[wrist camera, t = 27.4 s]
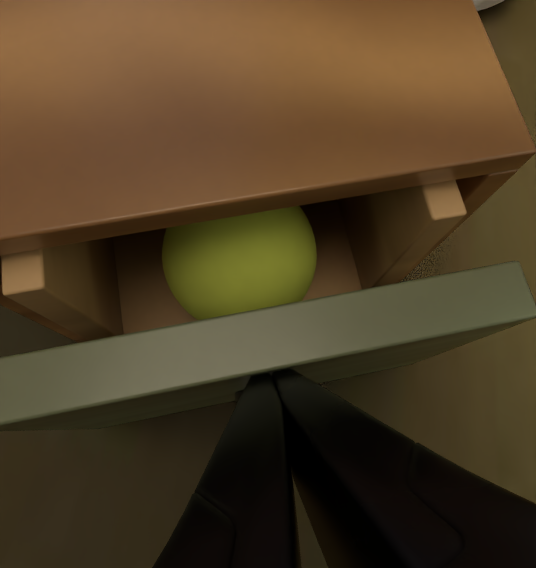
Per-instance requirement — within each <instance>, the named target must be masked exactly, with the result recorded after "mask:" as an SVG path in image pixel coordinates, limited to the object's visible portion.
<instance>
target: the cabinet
mask: <svg viewBox="0 0 536 568" xmlns="http://www.w3.org/2000/svg"><path fill="white" fill-rule="evenodd" d="M535 153H536V147H535V145H534V142H533V140H532V138H531V135H530V133H529V131H528V128H527V126H526V124H525V121H524V119H523V117H522V114H521V112H520V110H519V108H518V105H517V103H516V101H515V98H514V96H513V94H512V91H511V89H510V87H509V84H508V82H507V80H506V77H505V75H504V73H503V70H502V68H501V66H500V63H499V61H498V59H497V56H496V54H495V52H494V49H493V47H492V45H491V42H490V40H489V38H488V35H487V33H486V31H485V28H484V26H483V24H482V21H481V19H480V17H479V14H478V12H477V10H476V7H475V5H474V3H473V0H0V305H2V306H4V307H6V308H8V309H10V310H12V311H14V312H16V313H18V314H20V315H22V316H25V317H27V318H29V319H31V320H33V321H35V322H37V323H39V324H41V325H43V326H45V327H47V328H49V329H51V330H53V331H55V332H58V333H60V334H62V335H64V336H66V337H68V338H70V339H72V340H75V341H76V342H78V343H80V342H85V341H89V340H87V339H85V338H83V337H81V336H79V335H78V334H76V333H74V332H72V331H70V330H68V329H66V328H64V327H62V326H61V325H59V324H57V323H55V322H53V321H51V320H49V319H47V318H46V317H44V316H42V315H40V314H38V313H36V312H34V311H32V310H30V309H29V308H27V307H25V306H23V305H21V304H19V303H17V302H15V301H13V300H12V299H10V298H8V297H6V296H4V295H3V293H2V267H1V255H7V254H13V253H19V252H25V251H31V250H37V249H43V248H49V247H55V246H61V245H67V244H73V243H79V242H85V241H91V240H97V239H103V238H109V237H115V236H121V235H127V234H133V233H139V232H145V231H151V230H157V229H163V228H169V227H175V226H181V225H187V224H193V223H198V222H205V221H210V220H216V219H222V218H228V217H234V216H240V215H246V214H252V213H258V212H264V211H270V210H276V209H282V208H288V207H294V206H300V205H306V204H312V203H318V202H324V201H330V200H336V199H342V198H348V197H354V196H360V195H366V194H372V193H378V192H384V191H390V190H396V189H402V188H408V187H414V186H420V185H426V184H432V183H438V182H444V181H450V180H455V181H456V183H457V186H458V189H459V192H460V194H461V197H462V200H463V203H464V205H465V208H466V211H467V213H466V215H465V216H464V217H463V218H462V219H461V220H460V221H459V222H458V223H457V224H456V225H455V226H454V227H453V228H452V229H451V230H450V231H449V232H448V233H447V234H445V235H444V236H443V237H442V238H441V239H440V240H439V241H438V242H437V243H436V244H435V245H434V246H433V247H432V248H431V249H430V250H429V251H428V252H427V253H426V254H425V255H424V256H423V257H422V258H421V259H420V260H419V261H418V262H417V263H415V264H414V265H413V266H412V267H411V268H410V269H409V270H408V271H407V272H406V273H405V274H404V275H403V276H402V277H401V278H400V279H399V280H398V281H397V282H396V283H399V282H400V281H401V280H402V279H403V278H404V277H406V276H407V275H408V274H409V273H410V272H411V271H412V270H413V269H414V268H415V267H416V266H417V265H418V264H419V263H420V262H421V261H422V260H424V259H425V258H426V257H427V256H428V255H429V254H430V253H431V252H432V251H433V250H434V249H435V248H436V247H437V246H438V245H439V244H440V243H442V242H443V241H444V240H445V239H446V238H447V237H448V236H449V235H450V234H451V233H452V232H453V231H454V230H455V229H456V228H457V227H458V226H460V225H461V224H462V223H463V222H464V221H465V220H466V219H467V218H468V217H469V216H470V215H471V214H472V213H473V212H474V211H475V210H476V209H477V208H479V207H480V206H481V205H482V204H483V203H484V202H485V201H486V200H487V199H488V198H489V197H490V196H491V195H492V194H493V193H494V192H495V191H497V190H498V189H499V188H500V187H501V186H502V185H503V184H504V183H505V182H506V181H507V180H508V179H509V178H510V177H511V176H512V175H513V174H515V173H516V172H517V169H519V168H520V167H521V166H522V165H523V164H524V163H525V162H526V161H528V160H529V159H530V158H531V157H532V156H533V155H534V154H535Z"/></svg>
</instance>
